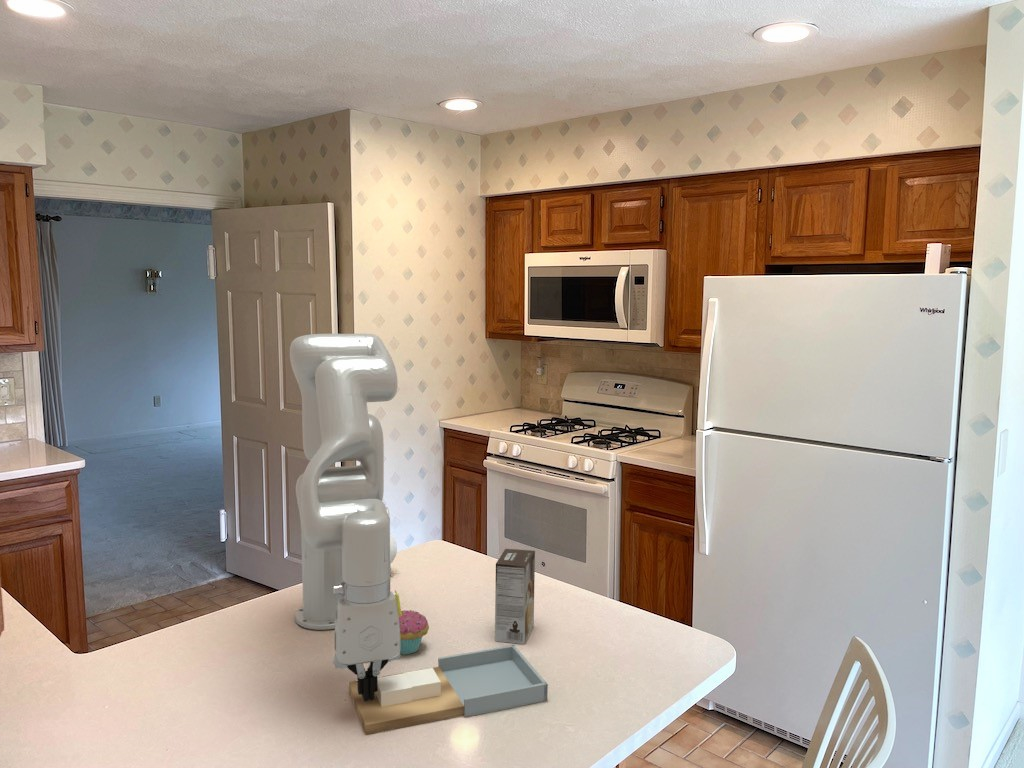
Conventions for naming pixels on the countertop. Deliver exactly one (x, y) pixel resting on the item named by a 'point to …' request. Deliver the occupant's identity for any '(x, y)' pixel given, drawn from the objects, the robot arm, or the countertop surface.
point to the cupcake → (411, 629)
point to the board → (406, 708)
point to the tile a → (394, 690)
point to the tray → (493, 680)
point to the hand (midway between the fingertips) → (367, 696)
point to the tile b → (424, 683)
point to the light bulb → (392, 550)
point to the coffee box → (514, 596)
